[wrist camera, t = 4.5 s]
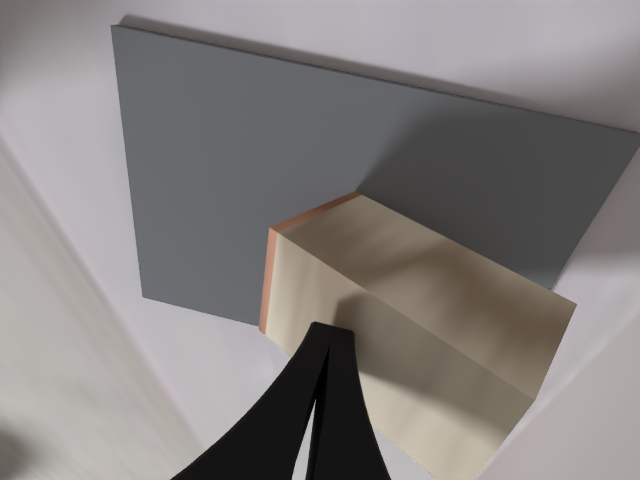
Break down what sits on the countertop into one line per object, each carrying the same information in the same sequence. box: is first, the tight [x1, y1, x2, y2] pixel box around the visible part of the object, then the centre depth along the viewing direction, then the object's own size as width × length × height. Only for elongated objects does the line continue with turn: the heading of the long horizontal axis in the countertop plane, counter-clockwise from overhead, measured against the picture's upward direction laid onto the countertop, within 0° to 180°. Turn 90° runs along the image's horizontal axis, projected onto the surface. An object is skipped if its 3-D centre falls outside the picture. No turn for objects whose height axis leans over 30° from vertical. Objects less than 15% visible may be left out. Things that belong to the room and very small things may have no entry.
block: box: [259, 191, 577, 480], centre depth 14 cm, size 5×5×9 cm
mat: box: [111, 25, 640, 326], centre depth 18 cm, size 20×14×1 cm
